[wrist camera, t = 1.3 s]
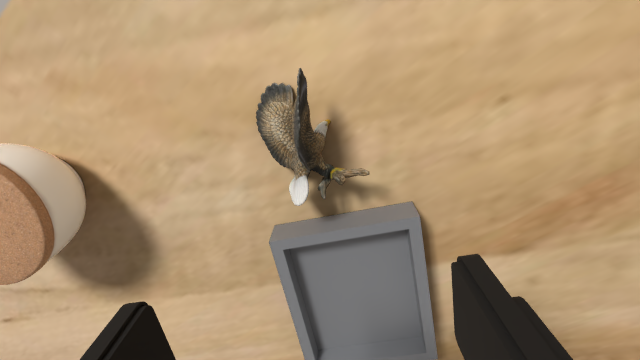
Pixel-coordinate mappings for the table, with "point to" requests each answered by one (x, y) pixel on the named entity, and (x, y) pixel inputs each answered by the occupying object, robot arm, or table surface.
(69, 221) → the lidded jar
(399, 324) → the tray
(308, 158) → the eagle figurine
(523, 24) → the table surface
